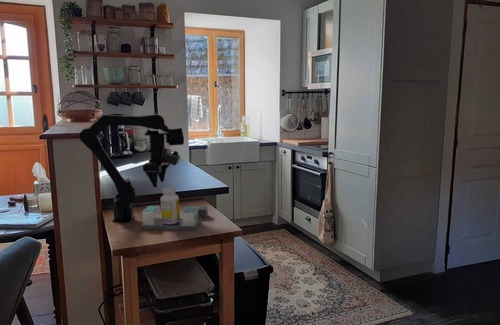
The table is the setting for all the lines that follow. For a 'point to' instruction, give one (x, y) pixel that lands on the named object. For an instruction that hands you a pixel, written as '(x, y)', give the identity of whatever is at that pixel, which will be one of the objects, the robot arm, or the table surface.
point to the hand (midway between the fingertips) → (158, 184)
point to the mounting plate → (155, 223)
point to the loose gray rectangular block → (202, 212)
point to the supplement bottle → (170, 206)
